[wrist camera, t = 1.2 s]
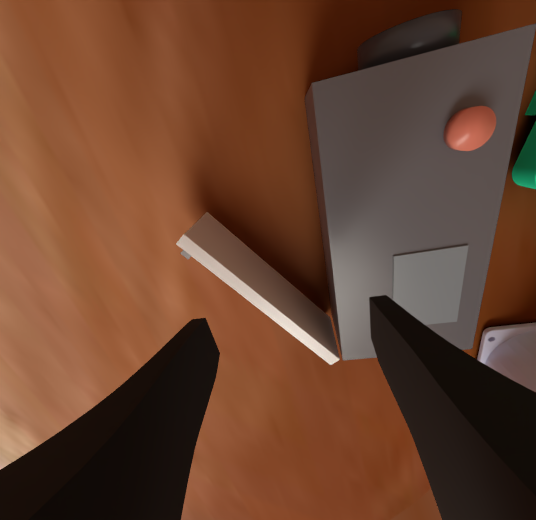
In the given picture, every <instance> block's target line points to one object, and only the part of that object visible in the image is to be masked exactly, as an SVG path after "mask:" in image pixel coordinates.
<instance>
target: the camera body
mask: <svg viewBox="0 0 536 520" xmlns="http://www.w3.org/2000/svg"><path fill="white" fill-rule="evenodd" d="M461 18H462V11H461V10H458V9H452V10H445V11H440V12H436V13H432V14H428V15H425V16H422V17H419V18H416V19H413V20H410V21H407V22H404V23H402V24H399V25H397V26H394V27H392V28H390V29H387V30H385V31H383V32H381V33H379V34H377V35H375V36H373V37H372V38H370V39H368V40H367V41H365V42H364V43H362V44H361V45H360V46H359V47H358V49H357V53H358V71H355V72H352V73H348V74H344V75H340V76H336V77H333V78H329V79H325V80H321V81H318V82H314V83H311V86H310V88H309V90H308V92H307V94H306V96H305V105H306V113H307V121H308V129H309V137H310V145H311V153H312V161H313V169H314V177H315V185H316V193H317V201H318V209H319V217H320V225H321V233H322V241H323V249H324V257H325V265H326V273H327V281H328V289H329V297H330V305H331V313H332V318H333V322H334V326H335V330H336V334H337V338H338V343H339V347H340V351H341V355H342V359H343V360H353V359H364V358H375V357H377V355H376V352H375V349H374V346H373V343H372V340H371V330H370V305H369V297H374V296H382V295H387V296H388V297H390V298H391V299H392V300H393V301H395V302H396V303H397V304H398V305H400V306H401V307H402V308H403V309H405V310H406V311H407V312H409V313H410V314H411V315H412V316H414V317H415V318H416V319H418V320H419V321H420V322H422V323H423V324H424V325H426V326H427V327H429V328H430V329H431V330H433V331H434V332H435V333H437V334H438V335H440V336H441V337H443V338H444V339H445V340H447V341H448V342H450V343H451V344H453V345H454V346H456V347H458V348H459V349H461V350H464V349H472V346H473V341H474V336H475V331H476V326H477V321H478V316H479V311H480V306H481V301H482V296H483V291H484V286H485V281H486V276H487V271H488V266H489V261H490V256H491V251H492V246H493V241H494V236H495V231H496V226H497V221H498V216H499V211H500V205H501V200H502V195H503V190H504V185H505V180H506V175H507V170H508V165H509V160H510V155H511V150H512V145H513V140H514V135H515V130H516V125H517V120H518V115H519V110H520V105H521V100H522V95H523V90H524V85H525V80H526V75H527V70H528V64H529V59H530V54H531V49H532V44H533V39H534V34H535V29H536V24H532V25H528V26H525V27H521V28H517V29H513V30H510V31H506V32H502V33H498V34H495V35H491V36H487V37H483V38H480V39H476V40H472V41H468V42H464V43H461V44H459V38H460V28H461Z"/></svg>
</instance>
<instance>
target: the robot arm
mask: <svg viewBox="0 0 536 520" xmlns="http://www.w3.org/2000/svg"><path fill="white" fill-rule="evenodd" d="M369 305H370V330H371V340H372V343H373V346H374V349H375V352H376V355H377V358H378V361H379V364H380V366H381V368H382V371H383V373H384V375H385V377H386V379H387V381H388V384H389V386H390V388H391V390H392V392H393V394H394V397H395V399H396V401H397V403H398V405H399V407H400V410H401V412H402V414H403V416H404V418H405V420H406V423H407V425H408V427H409V430H410V432H411V434H412V437H413V439H414V442H415V444H416V447H417V450H418V453H419V455H420V458H421V461H422V464H423V466H424V469H425V472H426V475H427V477H428V480H429V483H430V486H431V489H432V491H433V494H434V497H435V500H436V503H437V506H438V508H439V512H440V514H441V517H442V520H536V323H527V324H517V325H507V326H497V327H489V328H486V329H485V330H484V331H483V335H482V339H481V344H480V349H479V353H478V358H477V359H475V358H473V357H472V356H470V355H468V354H467V353H465V352H464V351H462V350H461V349H459V348H458V347H456V346H454V345H453V344H451V343H450V342H448V341H447V340H445V339H444V338H443V337H441V336H440V335H438V334H437V333H435V332H434V331H433V330H431V329H430V328H429V327H427V326H426V325H424V324H423V323H422V322H420V321H419V320H418V319H416V318H415V317H414V316H412V315H411V314H410V313H409V312H407V311H406V310H405V309H403V308H402V307H401V306H400V305H398V304H397V303H396V302H395V301H393V300H392V299H391V298H390V297H388V296H387V295H382V296H374V297H369ZM219 355H220V352H219V350H218V348H217V345H216V343H215V340H214V338H213V335H212V333H211V330H210V328H209V325H208V323H207V320H206V318H200V319H193V320H191V321H190V322H189V323H187V324H186V325H185V326H184V327H183V328H182V329H181V330H180V331H179V332H178V333H177V334H176V335H175V336H174V337H173V338H172V339H171V340H170V341H169V342H168V343H167V344H166V345H165V346H164V347H163V348H162V349H161V350H160V351H158V352H157V353H156V354H155V355H154V356H153V357H152V358H151V359H150V360H149V361H148V362H147V363H146V364H145V365H144V366H142V367H141V368H140V369H139V370H138V371H137V372H136V373H135V374H134V375H132V376H131V377H130V378H129V379H128V380H127V381H126V382H125V383H123V384H122V385H121V386H120V387H119V388H117V389H116V390H115V391H114V392H113V393H111V394H110V395H109V396H108V397H106V398H105V399H104V400H102V401H101V402H100V403H99V404H97V405H96V406H95V407H93V408H92V409H91V410H89V411H88V412H87V413H85V414H84V415H82V416H81V417H80V418H78V419H77V420H75V421H74V422H73V423H71V424H70V425H68V426H67V427H66V428H64V429H63V430H62V431H60V432H59V433H57V434H56V435H54V436H53V437H51V438H50V439H48V440H47V441H45V442H44V443H42V444H41V445H39V446H38V447H36V448H34V449H33V450H31V451H30V452H28V453H27V454H25V455H23V456H22V457H20V458H19V459H17V460H16V461H14V462H12V463H11V464H9V465H7V466H6V467H4V468H2V469H1V470H0V520H181V515H182V510H183V504H184V499H185V494H186V488H187V483H188V478H189V473H190V468H191V464H192V459H193V454H194V450H195V446H196V442H197V438H198V434H199V431H200V428H201V425H202V421H203V418H204V415H205V412H206V408H207V405H208V402H209V398H210V395H211V392H212V388H213V385H214V382H215V378H216V373H217V368H218V362H219Z"/></svg>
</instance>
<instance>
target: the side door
mask: <svg viewBox="0 0 536 520" xmlns="http://www.w3.org/2000/svg"><path fill="white" fill-rule="evenodd" d="M176 244H177V245H178V246H179V247H181V248H182V249H183V251H182V252H181V253H180V254H182V255H183V256H184V257H186V258H187V259H189V258H190V257H191V256H192V257H193V258H195V259H196V260H197V261H198V262H200V263H201V264H202V265H204V266H205V267H206V268H207V269H209V270H210V271H211V272H212V273H214V274H215V275H216V276H218V277H219V278H220V279H221V280H223V281H224V282H225V283H227V284H228V285H229V286H230V287H232V288H233V289H234V290H235V291H237V292H238V293H239V294H241V295H242V296H243V297H244V298H246V299H247V300H248V301H249V302H251V303H252V304H253V305H255V306H256V307H257V308H258V309H260V310H261V311H262V312H264V313H265V314H266V315H267V316H269V317H270V318H271V319H272V320H274V321H275V322H276V323H278V324H279V325H280V326H281V327H283V328H284V329H285V330H287V331H288V332H289V333H290V334H292V335H293V336H294V337H295V338H297V339H298V340H299V341H301V342H302V343H303V344H304V345H306V346H307V347H308V348H310V349H311V350H312V351H313V352H315V353H316V354H317V355H318V356H320V357H321V358H322V359H324V360H325V361H326V362H327V363H329V364H330V365H332V364H333V363H335V362H337V361H338V360H340V358H339V354H338V350H337V345H336V341H335V337H334V332H333V328H332V324H331V319H330V317H329V316H328V315H327V314H326V313H324V312H323V311H322V310H321V309H320V308H319V307H317V306H316V305H315V304H314V303H313V302H312V301H311V300H309V299H308V298H307V297H306V296H305V295H304V294H302V293H301V292H300V291H299V290H298V289H297V288H295V287H294V286H293V285H292V284H291V283H290V282H288V281H287V280H286V279H285V278H284V277H283V276H281V275H280V274H279V273H278V272H277V271H276V270H274V269H273V268H272V267H271V266H270V265H269V264H267V263H266V262H265V261H264V260H263V259H262V258H260V257H259V256H258V255H257V254H256V253H255V252H253V251H252V250H251V249H250V248H249V247H248V246H246V245H245V244H244V243H243V242H242V241H241V240H239V239H238V238H237V237H236V236H235V235H234V234H232V233H231V232H230V231H229V230H228V229H227V228H225V227H224V226H223V225H222V224H221V223H220V222H218V221H217V220H216V219H215V218H214V217H213V216H211V215H210V214H209V213H208V212H206V213H205V214H204V215H203V216H202V217H201V218H200V219H199V220H198V221H197V222H196V223H195V224H194V225H193V226H192V227H191V228H190V229H189V230H188V231H187V232H186V233H185V234H184V235H183V236H182V237H181V238H180V239H179V241H178V242H177V243H176Z"/></svg>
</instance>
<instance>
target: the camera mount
mask: <svg viewBox="0 0 536 520" xmlns="http://www.w3.org/2000/svg"><path fill="white" fill-rule="evenodd" d="M525 115H530V116H536V91H535V94H534V96H533V98H532V100H531V102H530V104H529V107H528V109H527V111H526V113H525ZM512 178H513V181H514V182H515V183H516V184H517V185H520V186H524V187H528V188H533V189H536V121H535V123H534V126H533V128H532V130H531V132H530V134H529V136H528V138H527V140H526V142H525V144H524V146H523V148H522V150H521V152H520V155H519V157H518V159H517V161H516V163H515V165H514V167H513V170H512Z"/></svg>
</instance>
